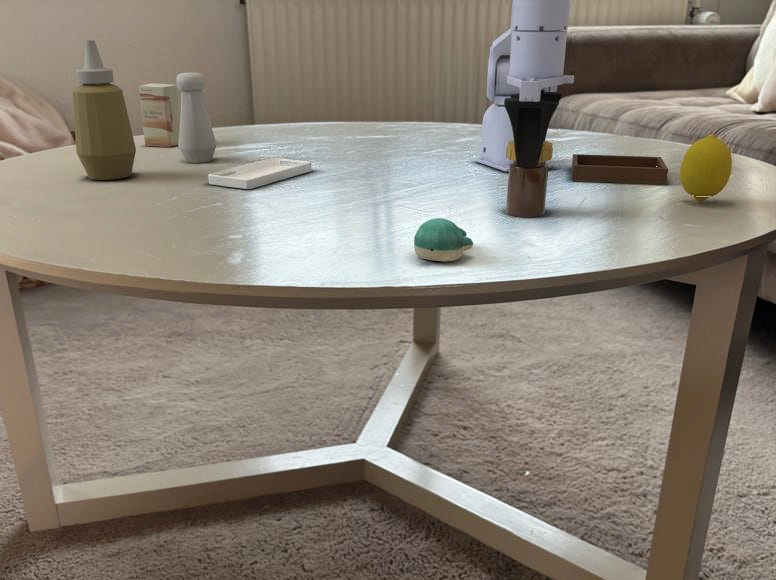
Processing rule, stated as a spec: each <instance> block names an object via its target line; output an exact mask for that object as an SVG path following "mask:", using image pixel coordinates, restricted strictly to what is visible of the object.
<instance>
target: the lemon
mask: <svg viewBox="0 0 776 580" xmlns="http://www.w3.org/2000/svg"><path fill="white" fill-rule="evenodd" d="M732 158H733V157H732V154H731V150H730V147H729V146H728V144H726V143H725V142H724V141H723V140H721V139H719V138H718V137H717V136H716V135H715V134H708V135H707V136H706V137H704V138H701V139H698V140H696V141H695V142H693V143H692V144H691V145H690V146H689V148H688V149H687V150H686V152H685V154H684V157H683V159H682V161H681V165H680V171H679V179H680V184H681V186H682V188H683V190H684V191H685V193H686V194H688V195H689V194H690V195H689V196H691V197H693V198H694V200H695V201H696V203H699V204H702V203H704V202H705V201H706V200H708V199H709V198H711V197H696V196H712V197H715V196H716V195H718V194H719V193H721V192H722V191H723V190H724V189H725V188H726V186H727V185H728V182H729V180H730V178H731V173H732V168H733V159H732ZM692 195H694V196H692ZM714 195H715V196H714Z"/></svg>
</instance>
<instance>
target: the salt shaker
mask: <svg viewBox="0 0 776 580" xmlns="http://www.w3.org/2000/svg"><path fill="white" fill-rule="evenodd" d="M205 77H206V76H204V75H203V74H202V73H200V72H195V71H193V72H192V71H191V72H189V71H188V72H181V73H178V74H177V76H176V87H177V90H180V91H181V96H180V98H181V99H180V115H179V121H180V130H179V143H178V145H177V146H178V150H179V152H180V153H181V155H182V157H183V159H184V160H185V162H186V163H190V164H191V163H192V164H201V163H209V162H211V161H212V160H213V158H214V154H215V152H216V148H217V141H216V138H215V133H214V130H213V126H212V123H211V118H210V114H209V111H208V107H207V104H206V100H205V97H204V93H203V90H204V89H205V88H206V78H205Z"/></svg>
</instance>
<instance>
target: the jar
mask: <svg viewBox="0 0 776 580" xmlns="http://www.w3.org/2000/svg"><path fill="white" fill-rule="evenodd" d="M546 163H547V161H546V162H538V164H537V167H536V168H529V167H517V163H516V161H513V162H512V163H510V164H509V172H508V174H507V187H506V188H507V189H506V190H507V191H506V202H505V203H506V205H505V213H506V214H507V215H510V216H514V217H519V218H537V217H541V216H544V214H545V211H546V203H547V192H548V181H549V180H548V179H549V170H550V168H549V165H548V164H546Z"/></svg>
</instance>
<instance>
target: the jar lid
mask: <svg viewBox="0 0 776 580" xmlns="http://www.w3.org/2000/svg"><path fill="white" fill-rule="evenodd" d="M553 144H554V143H552V142H550V141H549V140H548V141H547V140H545V141H544V142H543V146H542V151H541V155H540V158H539V161H538V162H546V163H547V162H550V161H551V160H552V159H553V151H554V150H553V149H554V148H553V146H554V145H553ZM506 158H507V159H509V160H512V161H516V157H515V147H514V141H509V142H508V147H507V150H506Z"/></svg>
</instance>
